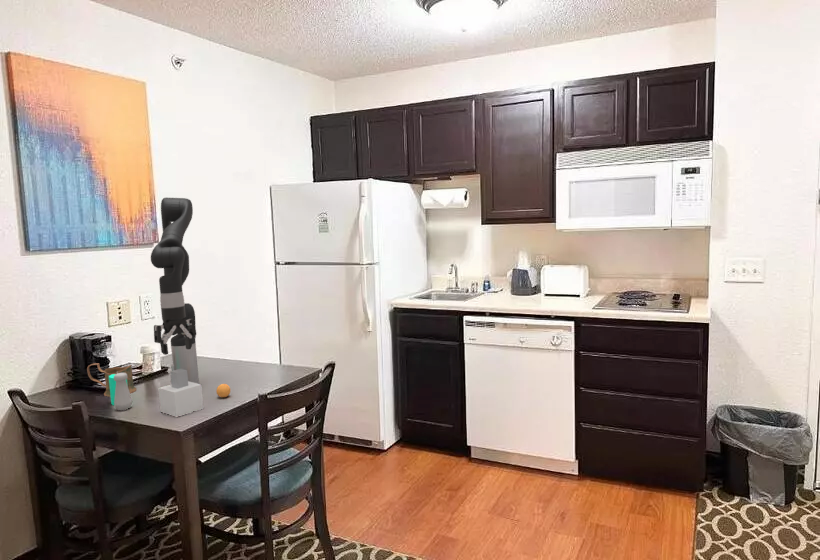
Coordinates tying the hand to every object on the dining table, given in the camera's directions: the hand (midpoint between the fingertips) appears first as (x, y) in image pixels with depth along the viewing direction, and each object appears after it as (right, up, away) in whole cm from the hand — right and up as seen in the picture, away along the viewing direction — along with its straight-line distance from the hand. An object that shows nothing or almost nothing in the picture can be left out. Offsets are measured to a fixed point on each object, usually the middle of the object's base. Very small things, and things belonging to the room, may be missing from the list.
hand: (177, 351), depth 196 cm
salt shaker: (-22, -22, +7) cm, 32 cm away
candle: (-27, -21, +15) cm, 37 cm away
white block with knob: (+1, -21, +2) cm, 21 cm away
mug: (-37, -20, +28) cm, 51 cm away
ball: (+11, -17, +15) cm, 25 cm away
